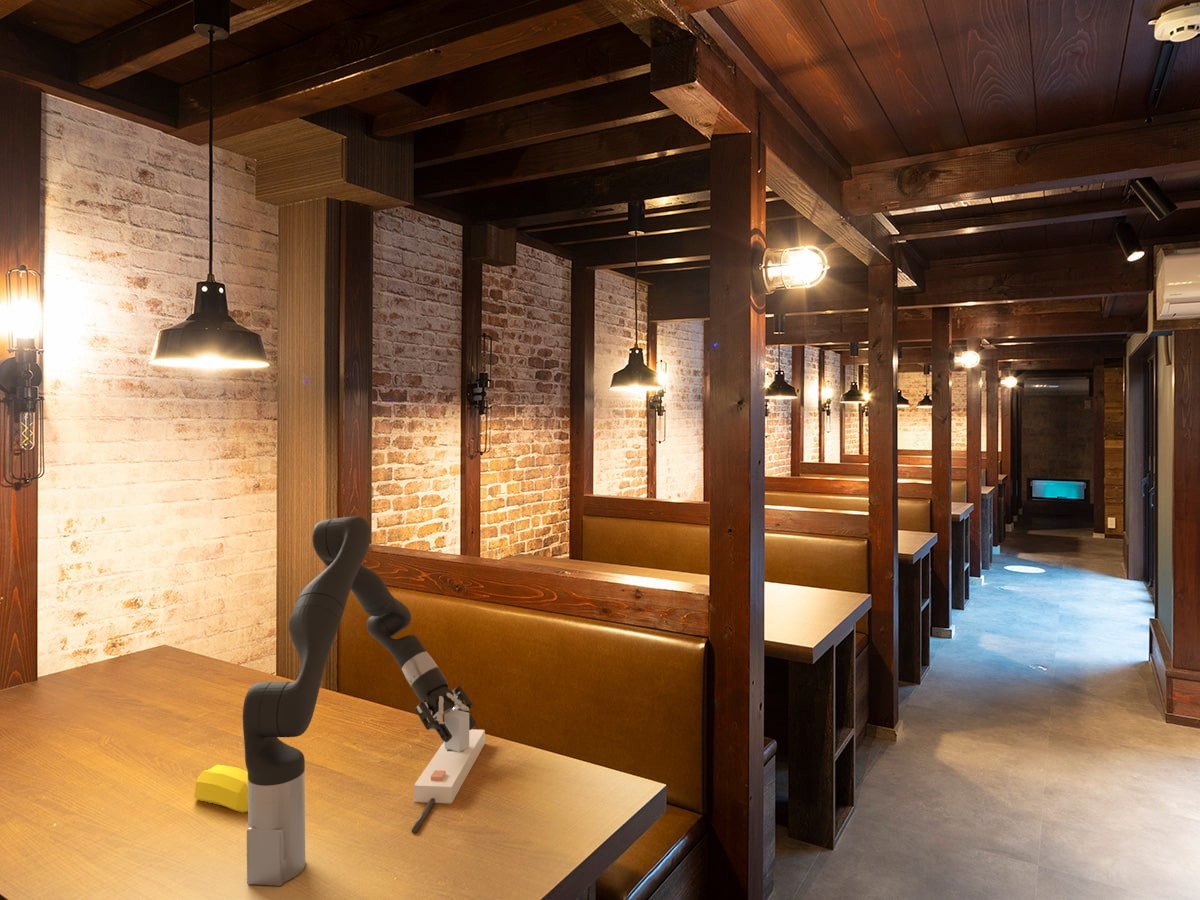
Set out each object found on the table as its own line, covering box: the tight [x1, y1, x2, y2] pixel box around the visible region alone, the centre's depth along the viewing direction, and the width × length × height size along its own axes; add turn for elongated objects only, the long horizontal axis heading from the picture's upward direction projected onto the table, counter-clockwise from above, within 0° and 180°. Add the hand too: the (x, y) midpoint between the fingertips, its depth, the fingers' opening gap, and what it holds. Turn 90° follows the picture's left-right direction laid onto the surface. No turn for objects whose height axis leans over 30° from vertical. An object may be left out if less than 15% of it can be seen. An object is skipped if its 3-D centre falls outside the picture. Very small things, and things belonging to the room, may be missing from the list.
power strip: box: [411, 728, 486, 834], centre depth 167 cm, size 42×8×4 cm, turn 175°
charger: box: [443, 709, 469, 752], centre depth 177 cm, size 4×4×10 cm
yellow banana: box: [193, 764, 248, 814], centre depth 159 cm, size 18×7×8 cm
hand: (461, 733), depth 176 cm, fingers open, 8 cm apart
